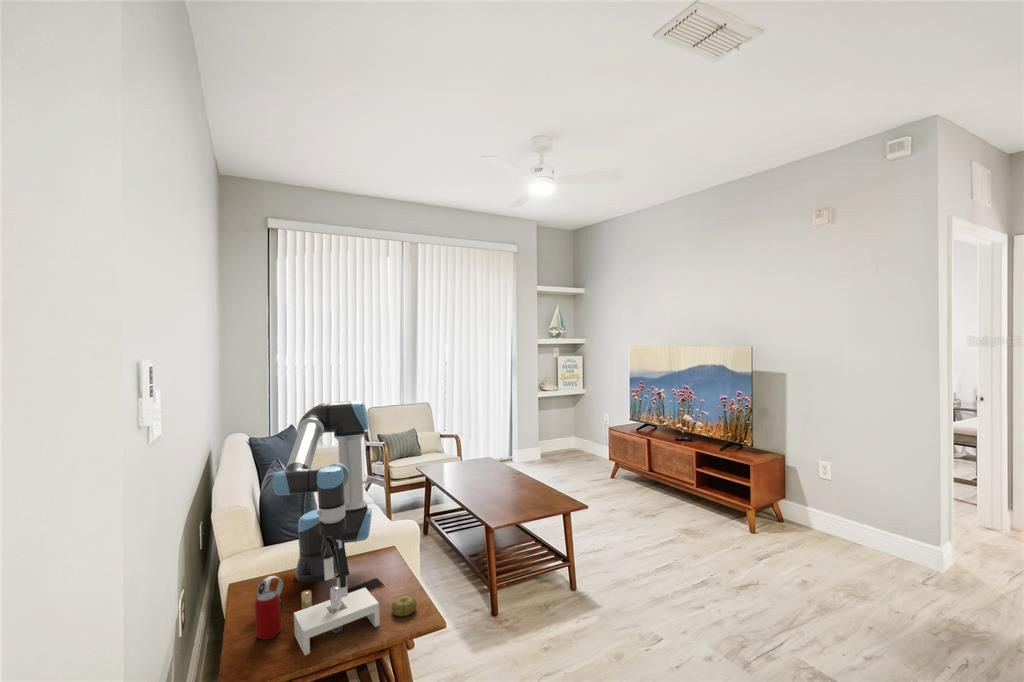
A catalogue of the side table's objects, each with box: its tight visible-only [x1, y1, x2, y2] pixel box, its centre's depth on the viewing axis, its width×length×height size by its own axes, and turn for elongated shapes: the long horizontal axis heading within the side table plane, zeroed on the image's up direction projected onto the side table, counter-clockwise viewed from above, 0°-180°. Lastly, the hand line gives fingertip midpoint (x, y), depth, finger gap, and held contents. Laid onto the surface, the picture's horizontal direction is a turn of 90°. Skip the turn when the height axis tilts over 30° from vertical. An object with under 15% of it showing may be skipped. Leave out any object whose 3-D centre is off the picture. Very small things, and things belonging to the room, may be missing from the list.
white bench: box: [293, 588, 381, 656], centre depth 147 cm, size 12×22×7 cm, turn 126°
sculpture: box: [391, 595, 418, 617], centre depth 156 cm, size 8×4×8 cm
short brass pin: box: [300, 589, 313, 610], centre depth 157 cm, size 3×3×7 cm
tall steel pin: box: [329, 585, 343, 634], centre depth 147 cm, size 3×3×13 cm
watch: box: [255, 575, 284, 612], centre depth 160 cm, size 6×8×11 cm
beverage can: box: [254, 590, 282, 640], centre depth 147 cm, size 7×7×12 cm
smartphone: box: [347, 577, 385, 593], centre depth 170 cm, size 8×17×1 cm, turn 128°
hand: (335, 587), depth 147 cm, fingers open, 13 cm apart
